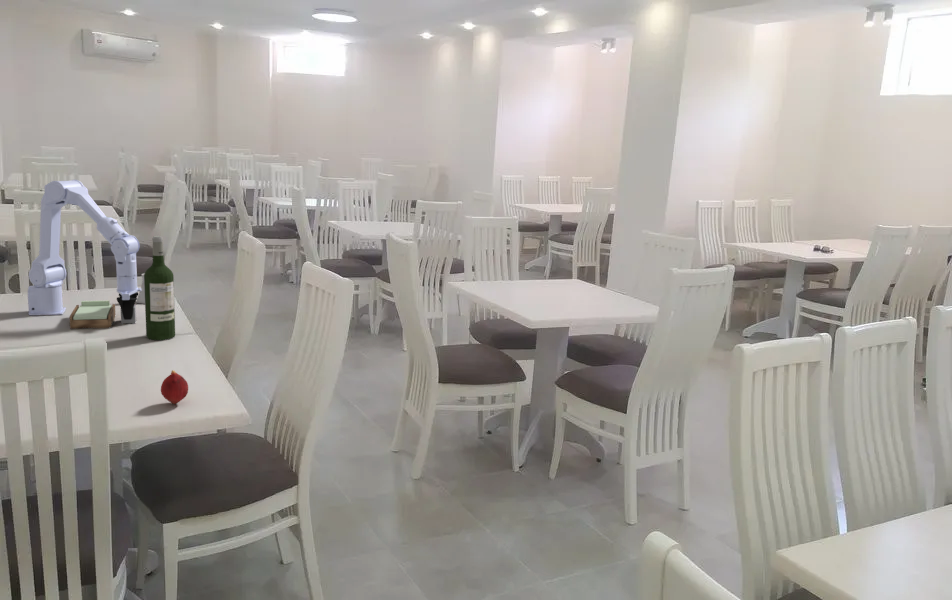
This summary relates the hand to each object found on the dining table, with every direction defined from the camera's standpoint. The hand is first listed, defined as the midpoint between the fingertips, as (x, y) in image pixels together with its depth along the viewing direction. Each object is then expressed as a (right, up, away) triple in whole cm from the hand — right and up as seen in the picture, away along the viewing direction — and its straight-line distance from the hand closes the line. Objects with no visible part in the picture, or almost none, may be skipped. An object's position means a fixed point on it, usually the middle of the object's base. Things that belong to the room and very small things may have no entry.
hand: (128, 317), depth 232 cm
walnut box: (-10, -1, -2) cm, 10 cm away
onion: (+41, -18, -63) cm, 77 cm away
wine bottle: (+16, -6, -13) cm, 22 cm away
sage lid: (-10, +1, -3) cm, 10 cm away
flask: (-6, +5, +26) cm, 27 cm away
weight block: (0, -1, 0) cm, 1 cm away
